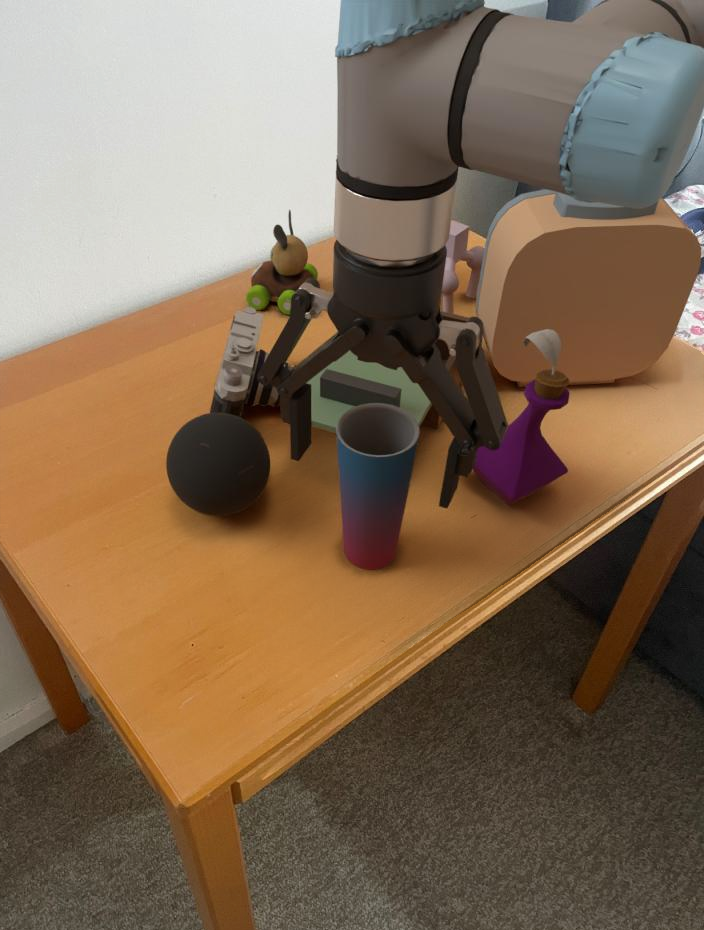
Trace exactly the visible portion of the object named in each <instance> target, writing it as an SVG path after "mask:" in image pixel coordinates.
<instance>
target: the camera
mask: <svg viewBox="0 0 704 930" xmlns="http://www.w3.org/2000/svg"><path fill="white" fill-rule="evenodd" d="M264 316H265V314H263V313H260V312H257V310H256V309H254V308H253V307H250V305H248V306H245V307H244V308H243V311H241V310H236V311H235V315H234V316H233V317H232V320H231V324H230V327H229V332H228V335H227V340H226V343H225V347H224V351H223V355H222V358H221V363H220V366H219V371H218V374H217V377H216V382H215V384H214V390H213V396H212V400H211V405H210V410H209V413H227V414H232V415H235V416H238V417H240V418H242V414H243V412H244V410H245V407H244V404H246V406H249V407H253V406H256V405H258V406H262V407H267V406H268V405H269V406H272V407H274V408H278V407H280V395H279V393H278V391H277V389H276V388H275V387H274V386H272V385H270V384H269V385H262V384H261V383H260V382H259V381H258V380H257V375H258V373H259V371H260V369H261V368H262V366H263V364H264V362H265V361H266V359H267V357H268V355H269V352H267V351H265V350H264V349H261V348H260V349H259V350H257V349H258V344H259V340H260V335H261V330H262V325H263V321H264ZM284 367H286V368H287V369H289V370H292V368H293V367H294V366H291V365H289V363H288V362H286V363H285V364H284Z"/></svg>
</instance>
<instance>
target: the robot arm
mask: <svg viewBox="0 0 704 930" xmlns="http://www.w3.org/2000/svg"><path fill="white" fill-rule="evenodd" d="M485 5H486V1H485V0H340V6H339V18H338V19H339V21H338V33H337V44H336V46H335V48H334V49H335V50H334V57H335V58H336V74H337V75H336V77H337V78H336V79H337V80H336V81H337V99H336V101H337V105H336V106H337V109H336V113H337V114H336V115H337V117H336V119H337V125H336V127H337V128H336V129H337V131H336V132H337V133H336V135H337V136H336V143H337V144H336V159H335V162H336V165H335V182H334V183H335V186H334V207H333V208H334V211H333V235H334V238H335V241H334V243H333V259H332V260H333V263H332V264H333V266H332V289H333V292H330V291H328V290H326V289H322V288H321V286H320V285H321V284H320V282H319V280H318V279H317V280H316V279H314V278H308V279H307V280H306V281H305V282H304V283H303V284H302V285H301V287H300V288H299V289H298V290H297V291H296V292H295V293H294V294H293V295H292V298H291V307H290V315H289V318H288V319H287V321H286V323H285V325H284V327H282V328H283V329H282V330H281V331H280V334H279V335H278V337H277V339H276V341H275V343H274V345H273V346H272V348H271V350H270V352H268V354H269V355H268V357H267V359H266V361H265V362H264V364H263V366H262V368H261V369H260V371H259V373H258V375H257V380H258V381H259V382H260V383H261V384H262V385H269V384H270V385H272V386H274V387H275V388H276V389H277V391H278V393H279V395H280V406H279V407H280V419H281V420H282V423H284V424H286V425H289V443H290V444H289V445H290V460H292V461H294V462H300V460H302V457H303V456H304V455H305V454H306V452H307V450H309V448H310V446H311V445H312V443H313V442H312V441H313V440H312V439H313V438H312V431H313V430H312V426H311V384H307V382H308V381H309V380H311V379H312V378H313V377H314V376H316V375H317V374H318V373H320V372H321V371H322V370H323V369H325V368H326V367H327V366H329V365H330V364H331V363H332V362H335V361H337V360H338V359H339V358H341V357H342V356H343V355H345V354H346V353H347V352H348V351H351V352H352V353H353V354H354V355H356V356H357V357H358V358H357V360H360V361H363V362H369V363H378V364H380V365H382V366H384V367H386V368H390V369H393V370H397V368H398V367H402V368H403V370H404V371H405V373H406V374H407V376H408V377H409V379H410V380H411V381H412V382H413V383H417V384H418V385H419V386H420V388H421V389H422V390H423V392H424V393H425V395H426V396H427V398H428V399H429V401H430V402H431V404H432V405H433V407H434V408H435V409H436V411H437V412H438V414H439V415H440V417H441V418H442V421H443V423H444V424H445V426H446V427H447V429H448V430H449V431H450V433H451V435H452V436H453V438H452V440H451V442H450V443H449V446H448V450H447V456H446V462H445V467H444V468H445V469H444V473H443V478H442V479H443V480H442V485H441V491H440V496H439V502H438V507H440V508H443V509H446V510H448V508H449V506H450V504H451V502H452V500H453V498H454V496H455V493H456V492H457V489H458V487H459V481H460V477H463V478H468V477H469V476H470V475H471V473H472V472H473V467H474V465H475V462H476V457H477V453H478V448H479V447H486V448H487V449H489V450H492V451H495V450H498V449H499V447H500V445H501V443H502V441H503V438H504V436H505V434H506V431H507V429H508V426H509V423H508V420H507V418H506V417H507V416H506V414H505V411H504V408H503V405H502V402H501V399H500V396H499V393H498V390H497V387H496V384H495V381H494V379H493V375H492V372H491V370H490V366H489V364H488V360H487V357H486V354H485V351H484V348H483V322H482V320H481V319H480V318H478V317H477V316H470V317H468V318H469V319H468V320H467V321H466V323H461V322H454V321H447V320H443V317H442V315H441V312H440V311H441V299H442V294H441V293H442V286H443V278H444V271H445V264H446V256H447V249H446V246H445V244H446V242H447V241H448V239H449V233H450V226H451V220H453V219H452V218H453V212H454V211H453V210H454V203H455V197H456V190H457V182H458V176H459V168H461V169H462V168H463V169H465V170H469V171H477V172H480V173H483V174H484V173H485V174H488V175H492V176H496V177H500V178H503V179H507V180H510V181H514V182H518V183H522V184H526V185H528V186H532V187H537V188H540V189H543V190H545V189H547V190H551V191H555V192H558V193H562V194H566V195H570V197H573V198H575V200H578V201H582V202H583V201H584V202H588V203H595V202H599V203H605V204H611V205H617V206H623V207H629V208H637V209H640V208H646V207H649V206H651V205H653V204H655V203H656V202H657V201H659V200H660V199H661V198H664V196H665V195H666V194H667V192H668V191H669V189H670V188H671V186H672V184H673V182H674V180H675V177H676V174H677V173H678V171H679V170H680V168H681V166H682V164H683V162H684V160H685V158H686V155H687V153H688V151H689V148H690V147H691V144H692V141H693V139H694V136H695V134H696V130H697V129H698V126H699V123H700V120H701V117H702V114H703V111H704V0H603V1H600V2H599V3H597V5H595V6H594V7H592V8H591V9H590V10H587V12H585V13H584V14H582V15H580V16H579V17H578V18H576V19H574V20H573V21H563V20H554V19H547V18H541V17H540V18H538V17H532V16H524V15H518V14H514V13H511V12H506V11H500V10H499V9H498V8H491V7H486V6H485ZM322 312H327V315H328V318H329V319H330V321H331V322H332V324H333V326H334V327H335V329H336V331H337V332H336V333H334V334H333V335H332V336H330V337H329V338H328V339H327V340H325V341H324V342H323V343H322V344H321V345H320V346H318V347H317V348H316V349H314V350H313V351H312V352H311V353H310V354H308V356H306V357H305V358H304V359H302V361H300V362H299V363H298V364H297V365H296V364H295V365H293V366H292V367H293V368H292V370H289V369H287V368H286V367H284V364H285V363H287V361H288V360H289V358H290V356H291V355H292V353H293V351H294V349H295V348H296V346H297V345H298V342H299V341H300V339H301V338H302V337H303V336H302V335H303V334H304V333H305V331H306V329H307V327H308V326H309V324H310V323H311V320H313V319H317V318H318V317H319V316H320V315H321V314H322ZM438 339H441V340H443V341H445V342H446V344H447V346H448V349H449V354H450V355H451V356H456V366H457V370H458V373H459V376H460V379H461V382H462V384H461V385H462V387H463V389H464V392H465V394H464V392H463V391H462V389H461V388H460V387H459V386H458V385H457V383H456V382H455V380H454V379H453V377H452V376H451V374H450V373H449V371H448V370H447V368H446V367H445V365H444V364H443V362H442V360H441V353H440V351H439V349H438V348H437V346H436V345H435V342H436V341H437V340H438ZM420 355H421V359H420V360H418V358H417V357H419V356H420Z"/></svg>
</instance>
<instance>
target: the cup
mask: <svg viewBox="0 0 704 930" xmlns="http://www.w3.org/2000/svg"><path fill="white" fill-rule="evenodd" d="M420 433H421V429H420V427H419V425H418V423H417V421H416V419H415V418H414V417H413V416H412V415H411V414H410V413H408V412H407V411H405V410H403V409H401V408H399V407H396V406H394V405H389V404H383V403H369V404H362V405H359V406H356V407H354V408H352V409H349V410H348V411H347V412H345V413H344V414H343V415H342V416H341V417H340V418H339V420H338V422H337V426H336V433H335V435H336V449H337V463H338V465H337V466H338V479H339V494H340V497H339V498H340V512H341V526H342V527H341V529H342V542H343V543H342V544H343V553H344V556H345V558H346V559H347V560H348V561H349V562H350V563H351V564H352V565H354V566H356V567H357V568H361V569H363V570H378V569H383V568H385V567H386V566H388V565H390V564H391V562H393V560H394V559H395V558H396V555H397V551H398V545H399V540H400V535H401V530H402V525H403V520H404V514H405V510H406V505H407V500H408V495H409V491H410V486H411V480H412V474H413V470H414V465H415V460H416V455H417V449H418V445H419V439H420Z"/></svg>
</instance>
